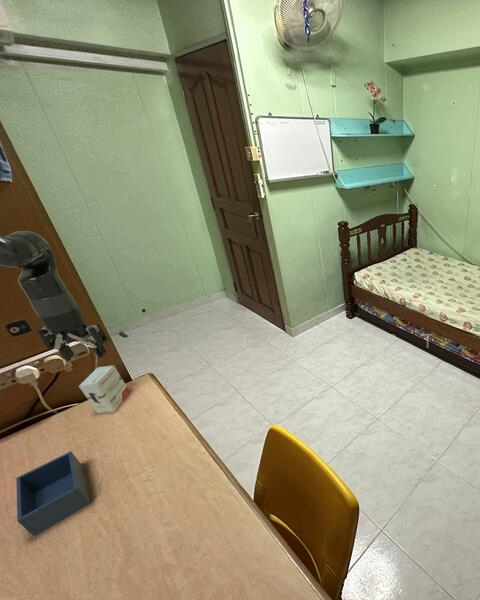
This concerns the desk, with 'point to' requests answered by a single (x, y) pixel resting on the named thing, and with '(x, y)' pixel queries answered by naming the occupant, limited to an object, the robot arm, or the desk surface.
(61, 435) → the desk surface
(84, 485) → the bin
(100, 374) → the ink box
